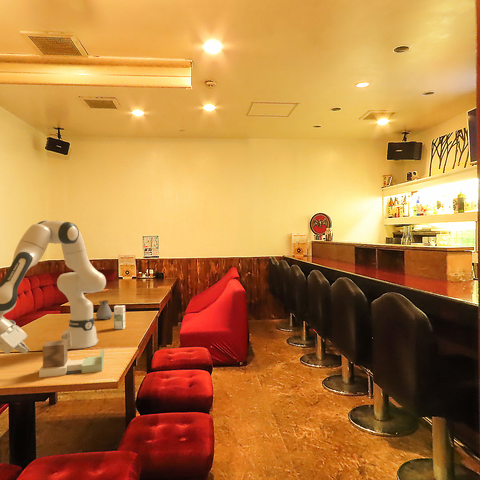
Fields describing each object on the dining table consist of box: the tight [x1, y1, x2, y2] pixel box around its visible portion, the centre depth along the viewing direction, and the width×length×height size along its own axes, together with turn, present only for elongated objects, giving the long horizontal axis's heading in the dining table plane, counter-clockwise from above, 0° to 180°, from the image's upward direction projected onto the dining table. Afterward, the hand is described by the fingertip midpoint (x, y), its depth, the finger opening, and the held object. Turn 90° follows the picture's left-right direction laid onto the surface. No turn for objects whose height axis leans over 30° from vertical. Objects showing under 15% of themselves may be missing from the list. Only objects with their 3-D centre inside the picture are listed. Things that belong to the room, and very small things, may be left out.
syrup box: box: [113, 304, 126, 330], centre depth 235 cm, size 6×6×14 cm
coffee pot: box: [95, 299, 114, 320], centre depth 261 cm, size 21×12×15 cm, turn 18°
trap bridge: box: [38, 349, 105, 378], centre depth 159 cm, size 24×12×6 cm, turn 106°
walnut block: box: [42, 339, 68, 368], centre depth 158 cm, size 8×8×9 cm
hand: (27, 351), depth 155 cm, fingers closed
